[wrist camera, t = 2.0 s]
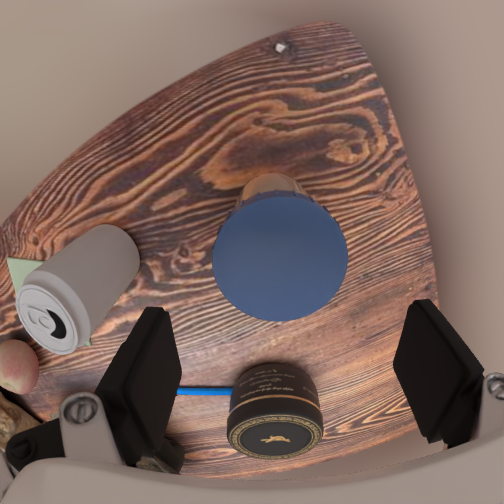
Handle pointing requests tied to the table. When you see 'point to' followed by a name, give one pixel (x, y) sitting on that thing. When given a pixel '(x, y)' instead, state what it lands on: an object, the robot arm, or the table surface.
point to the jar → (274, 413)
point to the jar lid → (279, 256)
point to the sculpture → (13, 421)
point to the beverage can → (77, 288)
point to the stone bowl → (160, 456)
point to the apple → (18, 366)
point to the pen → (204, 391)
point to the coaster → (24, 273)
